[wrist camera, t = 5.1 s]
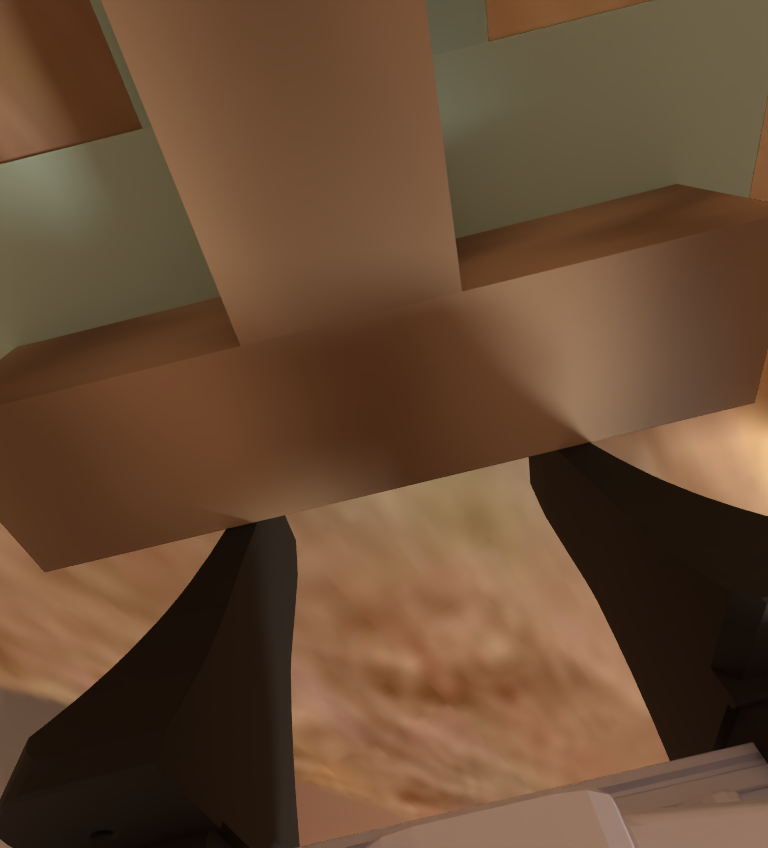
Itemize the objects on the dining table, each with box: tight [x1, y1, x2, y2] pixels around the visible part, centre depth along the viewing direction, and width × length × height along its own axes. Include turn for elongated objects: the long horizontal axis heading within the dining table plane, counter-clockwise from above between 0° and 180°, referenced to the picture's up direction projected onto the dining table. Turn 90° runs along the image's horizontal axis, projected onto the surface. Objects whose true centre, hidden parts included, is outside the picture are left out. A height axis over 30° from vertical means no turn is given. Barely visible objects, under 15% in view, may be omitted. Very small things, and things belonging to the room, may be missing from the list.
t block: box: [0, 0, 768, 572], centre depth 9 cm, size 16×14×4 cm
